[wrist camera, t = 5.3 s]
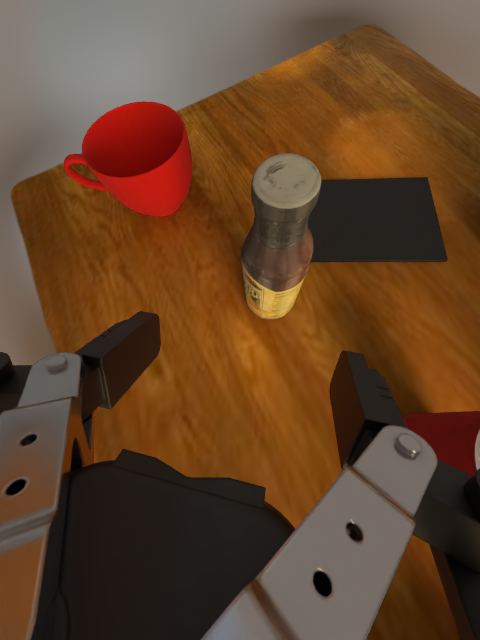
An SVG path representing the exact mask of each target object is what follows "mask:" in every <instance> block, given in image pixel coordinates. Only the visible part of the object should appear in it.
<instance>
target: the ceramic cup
mask: <svg viewBox="0 0 480 640" xmlns="http://www.w3.org/2000/svg"><path fill="white" fill-rule="evenodd" d="M82 154H83V155H81V154H72V155H68V156H67V157H66V158H65V161H64V168H65V170H66V172H67V174H68V175H69V176H70V177H71V178H72V179H74V180H75V181H77V182H78V183H80V184H82V185H84V186H87V187H89V188H93V189H98V190H104V191H109V192H110V193H111V194H112V195H113V196H114V197H115V198H116V199H117V200H119V201H120V202H121V203H122V204H123V205H125V206H126V207H128V208H130V209H132V210H134V211H136V212H138V213H141V214H144V215H149V216H156V217H164V216H168V215H170V214H172V213H174V212H175V211H177V210H178V209H179V208H180V206H181V204H182V203H183V202H184V200H185V198H186V197H187V195H188V192H189V189H190V186H191V182H192V157H191V151H190V145H189V140H188V136H187V131H186V127H185V124H184V122H183V120H182V119H181V117H180V116H179V115H178V113H177V112H176V111H174V110H173V109H171V108H170V107H168V106H166V105H163V104H159V103H155V102H135V103H130V104H126V105H123V106H120V107H117V108H115V109H113V110H111V111H109V112H107V113H106V114H104V115H103V116H101V117H100V118H99V119H98V120H97V121H96V122H95V123H93V125H92V126H91V127H90V128H89V130H88V131H87V133H86V135H85V137H84V140H83V144H82ZM75 163H80V164H84V165H87V166H88V167H89V168H90V170H91V171H92V172H93V174H94V175H95V176H96V177H97V178H98V180H99V181H95V180H91V179H88V178H86V177H84V176H82V175H80V174H79V173H77V172H76V171H75V170H74V169H73V168H72V167H71V164H75Z"/></svg>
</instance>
